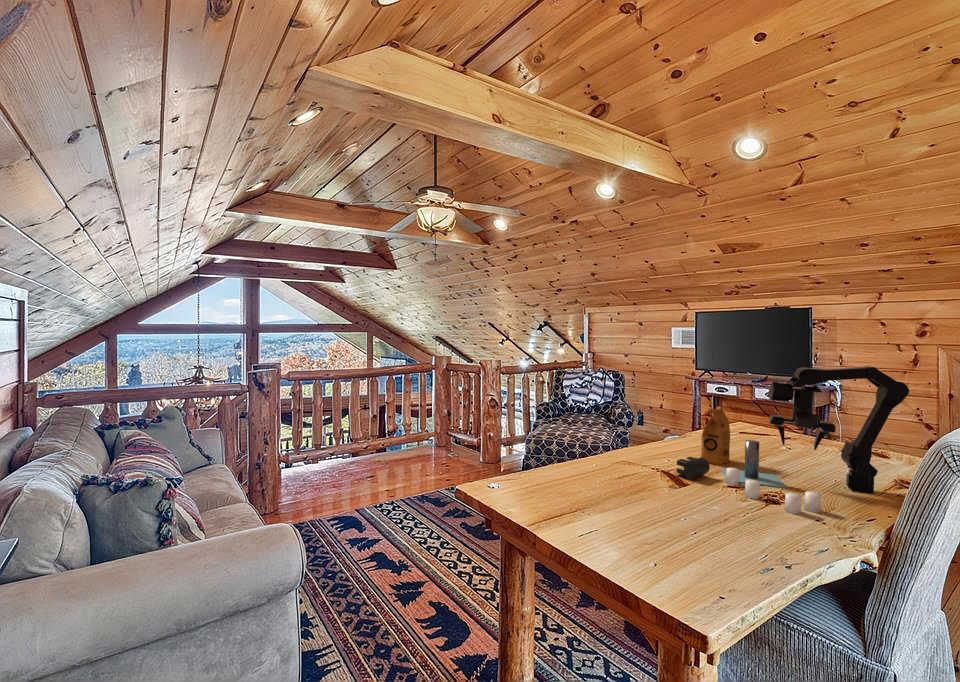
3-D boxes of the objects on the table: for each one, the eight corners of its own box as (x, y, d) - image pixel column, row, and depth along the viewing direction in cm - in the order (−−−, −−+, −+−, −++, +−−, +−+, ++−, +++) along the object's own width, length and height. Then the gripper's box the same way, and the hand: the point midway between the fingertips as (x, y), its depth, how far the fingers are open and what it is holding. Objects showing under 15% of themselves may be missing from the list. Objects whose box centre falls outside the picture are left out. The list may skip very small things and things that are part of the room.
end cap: (693, 482, 164) (694, 463, 164) (675, 476, 170) (676, 458, 170) (709, 477, 170) (710, 459, 170) (691, 472, 176) (692, 454, 176)
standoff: (760, 477, 168) (761, 442, 168) (754, 479, 166) (755, 443, 165) (748, 474, 172) (749, 439, 171) (742, 476, 170) (743, 441, 169)
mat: (774, 475, 173) (774, 474, 173) (786, 488, 160) (786, 486, 160) (720, 470, 178) (721, 468, 178) (728, 481, 165) (728, 480, 165)
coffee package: (696, 461, 190) (698, 407, 190) (708, 455, 199) (709, 404, 198) (722, 466, 183) (724, 411, 182) (733, 460, 192) (735, 407, 191)
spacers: (750, 480, 167) (750, 466, 167) (824, 512, 139) (824, 495, 139) (715, 482, 165) (716, 468, 164) (783, 515, 136) (784, 498, 136)
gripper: (773, 402, 161) (769, 447, 162) (841, 410, 152) (836, 457, 153) (771, 398, 171) (767, 440, 171) (834, 406, 162) (829, 450, 163)
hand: (798, 447), depth 164 cm, fingers open, 9 cm apart
